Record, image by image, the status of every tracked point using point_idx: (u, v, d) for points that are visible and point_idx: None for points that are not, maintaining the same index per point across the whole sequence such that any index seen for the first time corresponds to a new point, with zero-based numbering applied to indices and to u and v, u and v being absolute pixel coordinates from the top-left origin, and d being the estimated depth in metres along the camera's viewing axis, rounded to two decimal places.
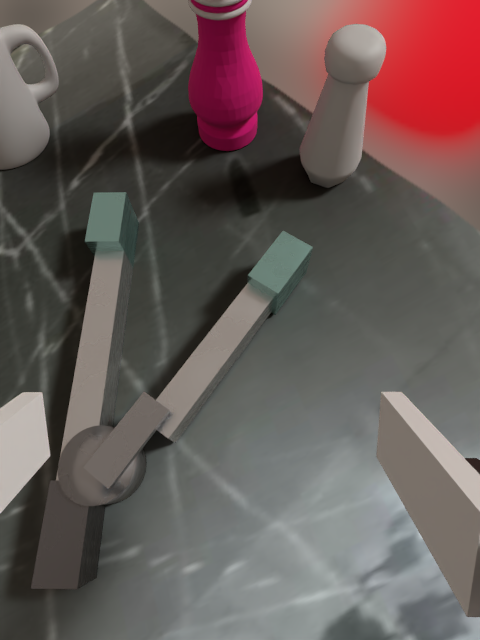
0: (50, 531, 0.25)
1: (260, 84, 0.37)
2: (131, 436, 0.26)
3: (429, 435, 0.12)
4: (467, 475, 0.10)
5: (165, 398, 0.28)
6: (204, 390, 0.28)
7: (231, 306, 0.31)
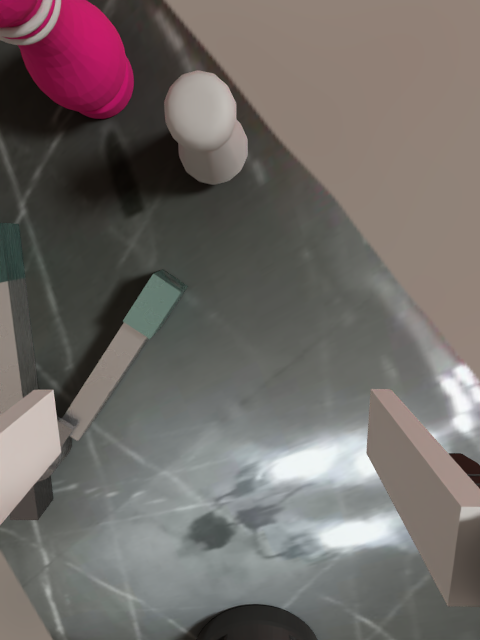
0: None
1: (116, 59, 0.28)
2: None
3: (415, 431, 0.12)
4: (449, 469, 0.10)
5: (71, 414, 0.37)
6: (99, 407, 0.37)
7: (114, 340, 0.35)
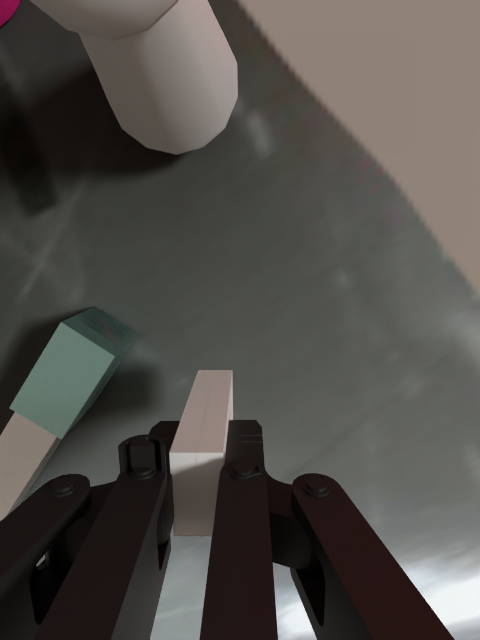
0: None
1: None
2: None
3: (217, 401, 0.14)
4: (215, 428, 0.12)
5: None
6: None
7: (3, 436, 0.20)
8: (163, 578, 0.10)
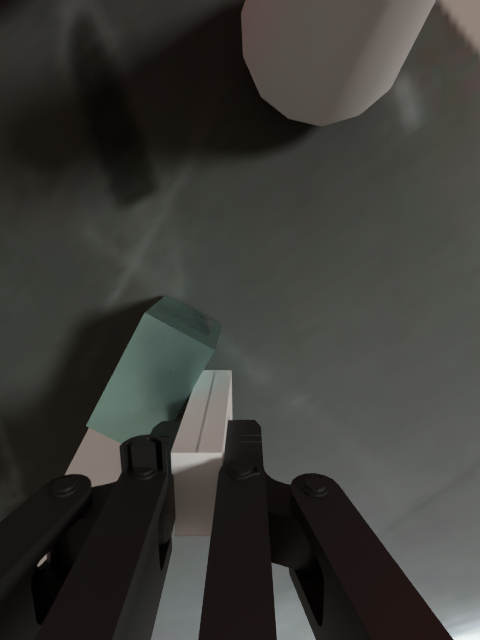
0: None
1: None
2: None
3: (217, 401, 0.14)
4: (214, 428, 0.12)
5: None
6: None
7: (76, 460, 0.16)
8: (164, 578, 0.10)
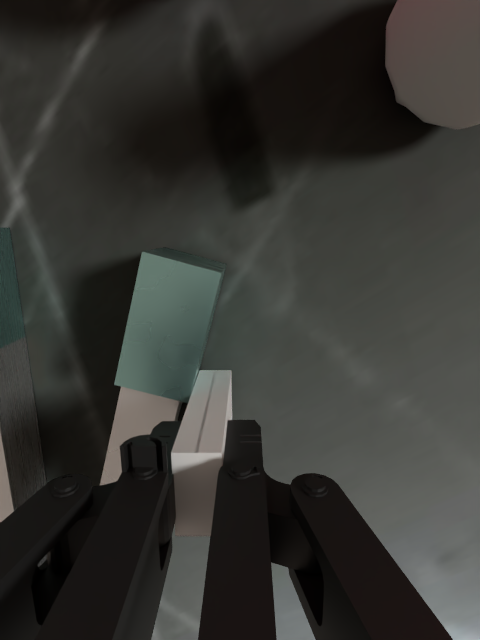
0: None
1: None
2: None
3: (216, 401, 0.14)
4: (213, 428, 0.12)
5: None
6: None
7: (115, 428, 0.16)
8: (164, 578, 0.10)
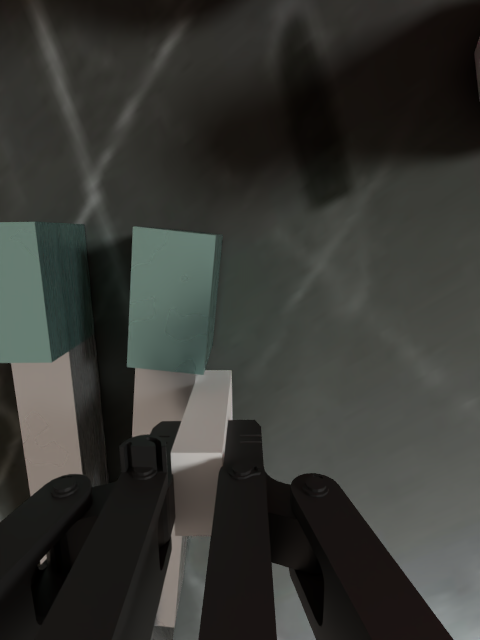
0: None
1: None
2: None
3: (217, 401, 0.14)
4: (214, 428, 0.12)
5: None
6: (180, 550, 0.18)
7: (136, 414, 0.16)
8: (164, 578, 0.10)
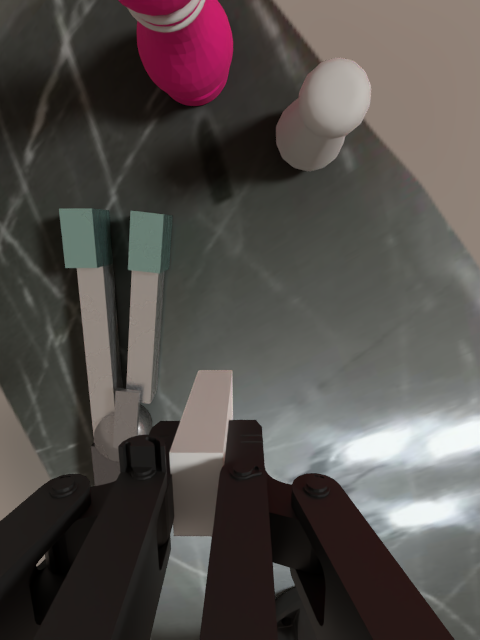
0: (99, 472, 0.40)
1: (228, 47, 0.29)
2: (127, 418, 0.38)
3: (217, 401, 0.14)
4: (215, 427, 0.12)
5: (132, 382, 0.38)
6: (152, 363, 0.38)
7: (132, 295, 0.36)
8: (163, 578, 0.10)
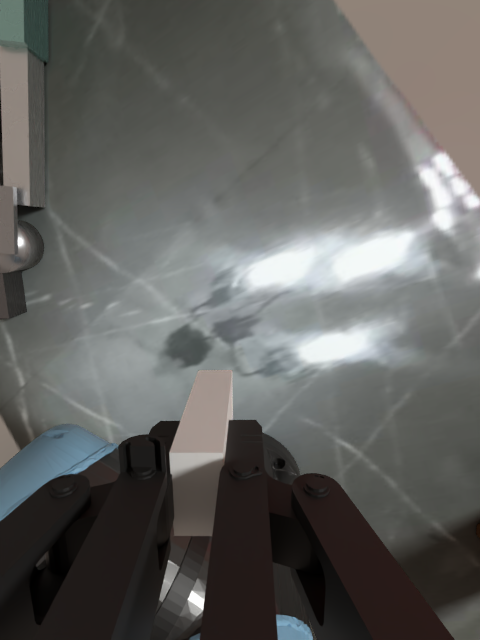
0: None
1: None
2: (3, 217, 0.36)
3: (217, 401, 0.14)
4: (215, 428, 0.12)
5: (9, 181, 0.36)
6: (30, 159, 0.36)
7: (2, 77, 0.34)
8: (163, 578, 0.10)
